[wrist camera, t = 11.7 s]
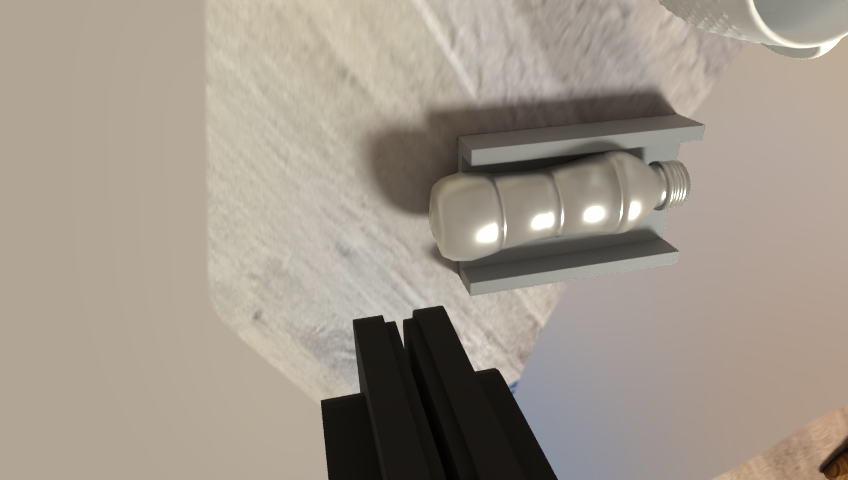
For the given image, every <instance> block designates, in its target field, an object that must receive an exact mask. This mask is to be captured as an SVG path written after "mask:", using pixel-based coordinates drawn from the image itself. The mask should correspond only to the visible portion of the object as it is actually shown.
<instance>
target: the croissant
mask: <svg viewBox="0 0 848 480" xmlns="http://www.w3.org/2000/svg"><path fill="white" fill-rule="evenodd" d="M823 473H824V475H825V476H826V478H827V479H829V480H848V449H847V450H845V451H844V452H842V453H841V454H840V455H838V456H837V457H836V458H835V459H834V460H833V461H831V462H830V463H829V465H828V466H827V467H826V468H825V469H824V471H823Z"/></svg>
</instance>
